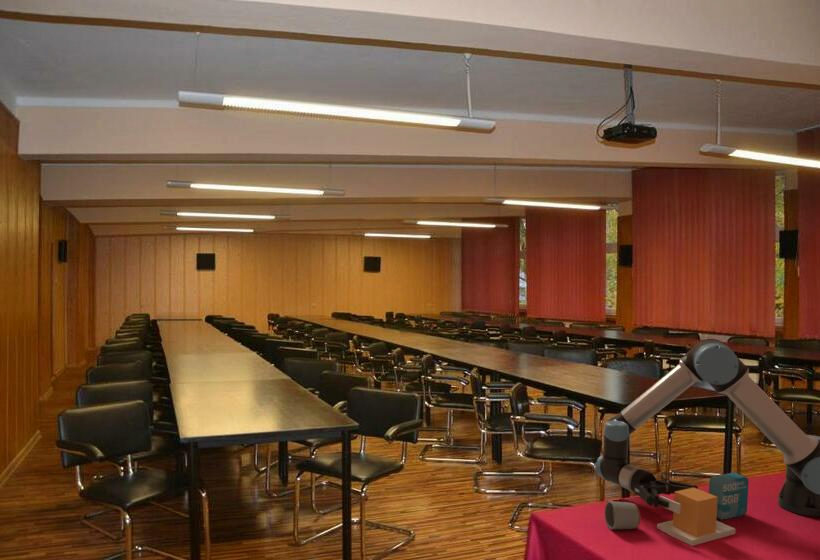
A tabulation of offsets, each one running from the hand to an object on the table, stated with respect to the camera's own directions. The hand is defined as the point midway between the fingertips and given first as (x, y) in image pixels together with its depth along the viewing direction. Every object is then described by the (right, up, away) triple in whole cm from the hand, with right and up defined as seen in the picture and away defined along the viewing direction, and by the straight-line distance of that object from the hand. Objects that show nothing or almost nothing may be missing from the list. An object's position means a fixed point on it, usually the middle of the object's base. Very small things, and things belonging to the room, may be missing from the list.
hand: (696, 504), depth 193 cm
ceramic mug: (-20, -8, +5) cm, 22 cm away
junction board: (+1, -8, +3) cm, 9 cm away
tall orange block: (0, -7, +1) cm, 7 cm away
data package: (+16, -8, +15) cm, 24 cm away
